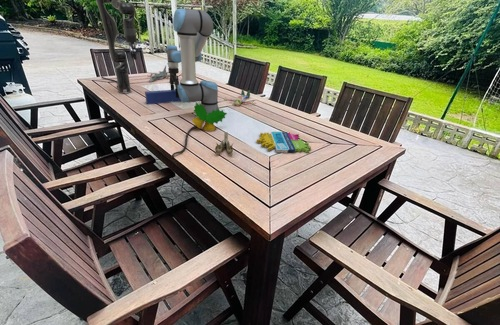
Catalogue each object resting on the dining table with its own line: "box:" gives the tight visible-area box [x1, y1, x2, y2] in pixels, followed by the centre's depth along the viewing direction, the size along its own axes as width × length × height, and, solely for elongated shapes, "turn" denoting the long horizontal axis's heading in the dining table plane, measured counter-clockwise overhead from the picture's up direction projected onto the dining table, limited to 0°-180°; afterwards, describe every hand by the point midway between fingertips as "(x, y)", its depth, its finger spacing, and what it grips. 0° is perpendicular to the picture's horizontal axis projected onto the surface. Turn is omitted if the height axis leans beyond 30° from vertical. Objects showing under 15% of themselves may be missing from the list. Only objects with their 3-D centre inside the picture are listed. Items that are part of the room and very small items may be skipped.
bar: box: [144, 89, 182, 105], centre depth 205 cm, size 27×5×8 cm, turn 120°
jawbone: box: [214, 131, 234, 156], centre depth 136 cm, size 9×15×10 cm
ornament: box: [191, 102, 228, 132], centre depth 162 cm, size 21×8×15 cm, turn 105°
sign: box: [256, 131, 312, 154], centre depth 152 cm, size 26×2×30 cm
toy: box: [223, 89, 257, 106], centre depth 219 cm, size 28×7×30 cm
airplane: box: [146, 65, 170, 83], centre depth 274 cm, size 38×31×10 cm
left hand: (134, 58), depth 198 cm, fingers open, 8 cm apart
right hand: (175, 95), depth 210 cm, fingers open, 13 cm apart
